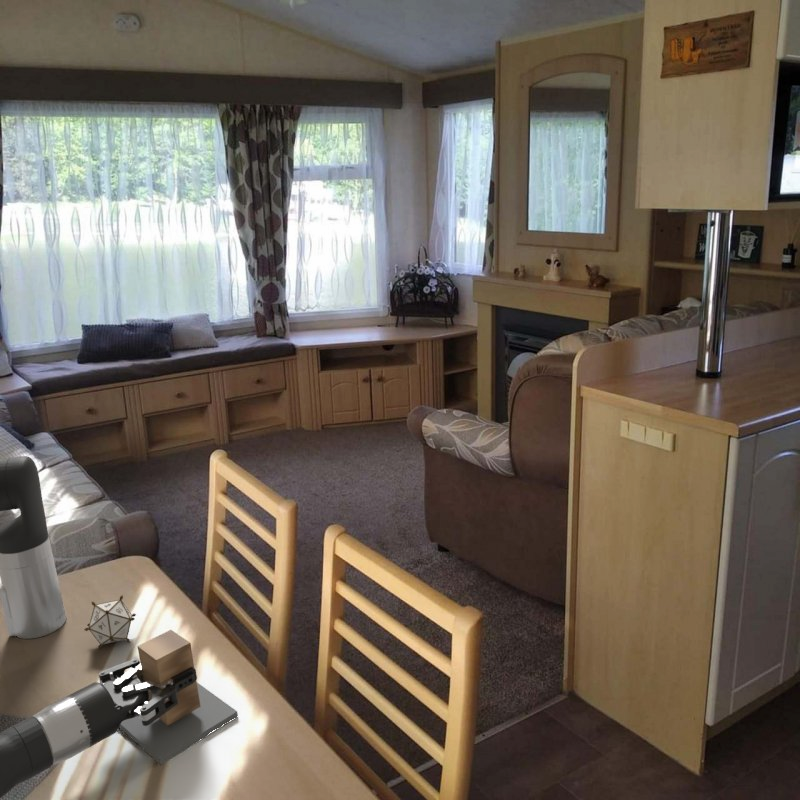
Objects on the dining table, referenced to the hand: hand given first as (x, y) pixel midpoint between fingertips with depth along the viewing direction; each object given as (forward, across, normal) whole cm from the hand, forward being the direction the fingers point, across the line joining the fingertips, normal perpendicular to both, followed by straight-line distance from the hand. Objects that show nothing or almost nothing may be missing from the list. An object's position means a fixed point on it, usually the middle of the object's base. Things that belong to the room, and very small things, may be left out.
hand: (183, 665), depth 120 cm
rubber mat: (-2, 0, +8) cm, 9 cm away
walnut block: (-3, 0, +6) cm, 7 cm away
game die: (+2, +29, +9) cm, 30 cm away
